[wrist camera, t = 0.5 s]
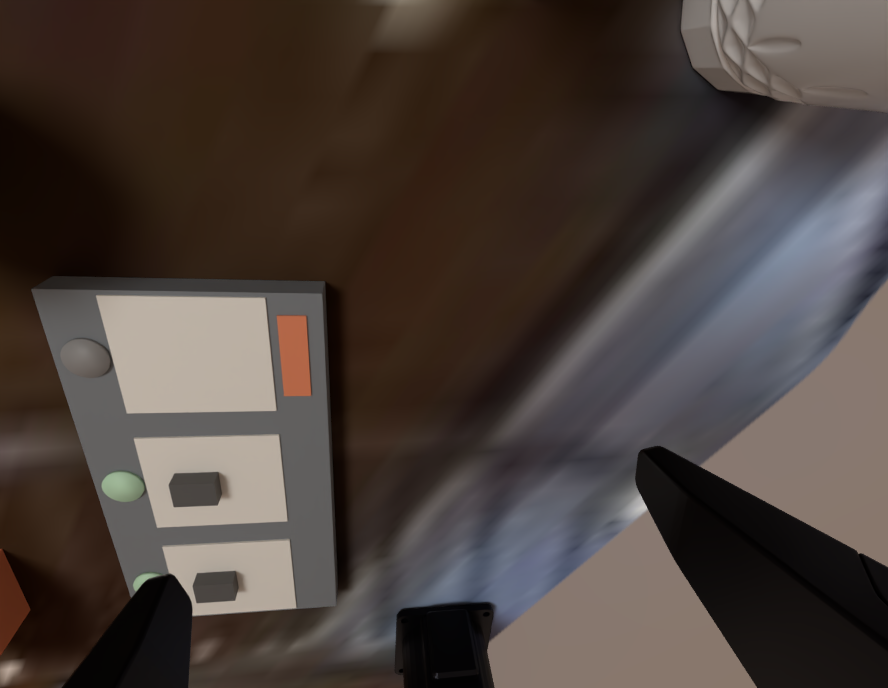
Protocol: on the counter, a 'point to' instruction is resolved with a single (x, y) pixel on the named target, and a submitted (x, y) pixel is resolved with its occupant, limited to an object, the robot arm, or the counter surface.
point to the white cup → (793, 49)
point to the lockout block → (10, 603)
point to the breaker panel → (205, 431)
